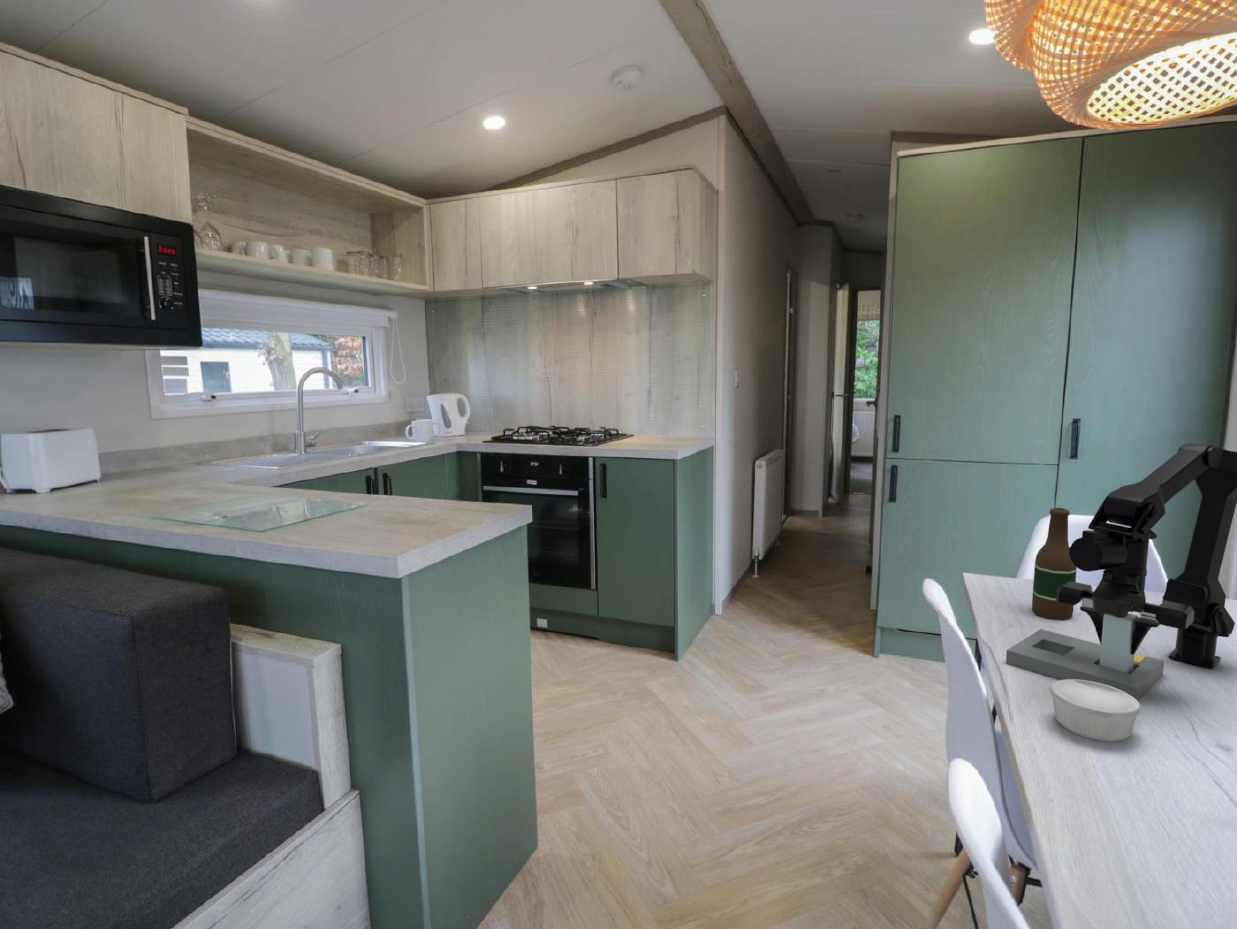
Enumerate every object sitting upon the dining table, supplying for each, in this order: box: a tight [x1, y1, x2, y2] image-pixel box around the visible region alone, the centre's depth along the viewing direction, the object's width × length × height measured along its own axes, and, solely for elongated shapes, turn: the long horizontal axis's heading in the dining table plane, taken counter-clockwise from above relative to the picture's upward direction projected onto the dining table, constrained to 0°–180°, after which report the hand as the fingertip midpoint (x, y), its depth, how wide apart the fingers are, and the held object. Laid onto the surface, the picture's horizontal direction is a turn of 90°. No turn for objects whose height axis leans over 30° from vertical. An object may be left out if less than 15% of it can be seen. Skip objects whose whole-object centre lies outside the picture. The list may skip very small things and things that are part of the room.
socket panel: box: [1005, 628, 1165, 701], centre depth 125 cm, size 16×20×3 cm
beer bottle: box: [1031, 507, 1078, 621], centre depth 150 cm, size 8×8×24 cm
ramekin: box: [1050, 679, 1141, 743], centre depth 105 cm, size 11×11×5 cm
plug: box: [1099, 612, 1139, 674], centre depth 120 cm, size 4×4×10 cm
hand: (1117, 650), depth 120 cm, fingers closed on plug, 4 cm apart
